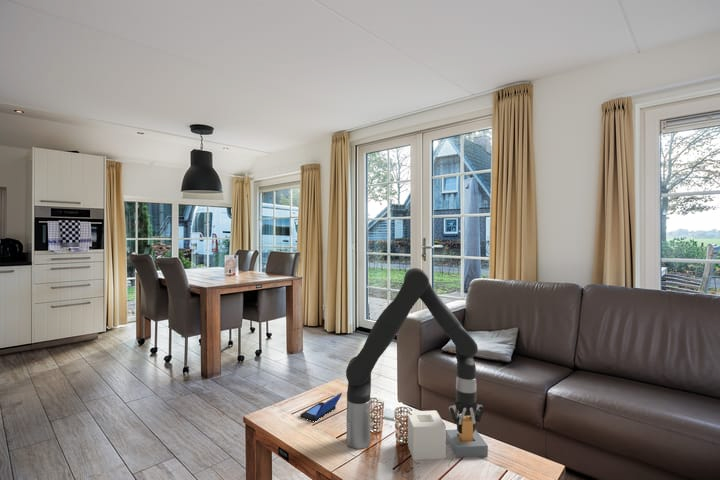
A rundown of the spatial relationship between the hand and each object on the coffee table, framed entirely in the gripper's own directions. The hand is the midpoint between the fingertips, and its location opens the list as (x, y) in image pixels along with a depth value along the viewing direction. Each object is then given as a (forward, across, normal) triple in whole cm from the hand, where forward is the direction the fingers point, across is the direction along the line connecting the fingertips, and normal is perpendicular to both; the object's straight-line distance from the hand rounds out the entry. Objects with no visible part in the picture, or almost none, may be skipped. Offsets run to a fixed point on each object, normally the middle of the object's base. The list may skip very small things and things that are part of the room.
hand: (465, 432), depth 140 cm
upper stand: (+6, -16, 0) cm, 17 cm away
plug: (+4, 0, 0) cm, 4 cm away
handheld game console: (+7, -56, +31) cm, 65 cm away
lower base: (+6, 0, 0) cm, 6 cm away
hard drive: (+7, -27, +29) cm, 40 cm away
